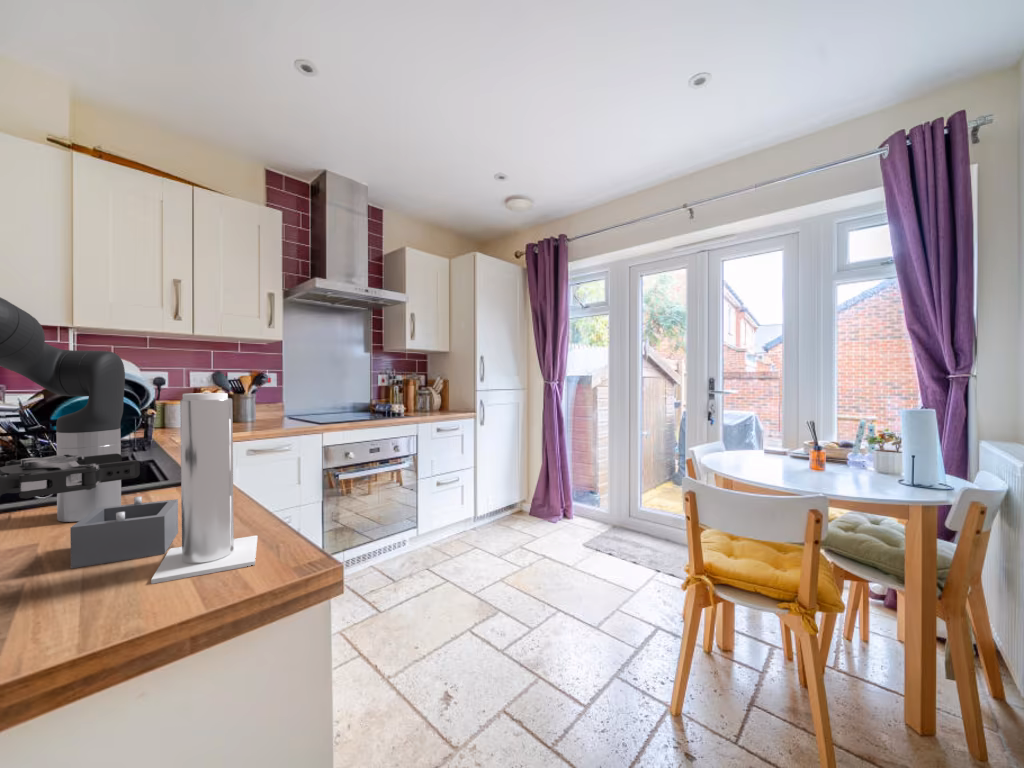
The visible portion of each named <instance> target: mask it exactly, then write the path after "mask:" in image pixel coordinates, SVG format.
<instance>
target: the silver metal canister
mask: <svg viewBox="0 0 1024 768" xmlns="http://www.w3.org/2000/svg"><path fill="white" fill-rule="evenodd" d="M179 402H180V403H179V404H180V411H179V412H180V414H179V415H180V482H181V483H180V484H181V485H180V488H181V489H180V491H181V493H180V496H181V498H180V499H181V502H180V504H181V506H180V507H181V547H182V561H183V562H185V563H190V564H196V563H205V562H210V561H215V560H218V559H221V558H223V557H226V556H228V555H229V554H231V553H232V552H233V550H234V539H235V537H234V531H235V529H234V526H235V525H234V448H233V447H234V442H233V440H234V435H233V432H234V430H233V429H234V428H233V427H234V426H233V421H234V420H233V418H234V417H233V398H231V397H229V395H228V393H227V392H202V393H201V392H200V393H199V392H198V393H182V399H180V401H179Z"/></svg>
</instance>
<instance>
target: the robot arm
mask: <svg viewBox="0 0 1024 768" xmlns="http://www.w3.org/2000/svg"><path fill="white" fill-rule="evenodd" d="M0 367H2V368H4V369H7V370H9V371H11V372H15V373H16V374H19V375H21V376H23V377H24V378H26V379H28V380H30V381H32V382H33V383H35V384H36V385H38V386H40V387H42V388H44V389H45V390H47V391H48V392H51V393H53V394H56V395H59V396H62V397H63V396H64V397H88V399H87V403H86V405H84V407H82V408H81V409H79V410H77V411H75V412H72V413H68V414H65V415H62V416H60V417H57V420H56V424H55V425H56V426H55V430H56V435H55V436H56V455H51V456H45V457H28V458H26V457H25V458H21V459H19V460H16V459H11V460H9V461H5V465H4V466H0V497H1V496H3V495H4V494H17V493H19V495H18V497H19V499H30V498H34V497H43V496H49V495H56V510H57V511H56V516H57V518H56V520H57V521H58V522H66V523H68V522H69V523H70V522H71V523H72V522H79V521H80V520H81V519H83V518H84V517H86V516H87V515H88V514H90V513H91V512H92V511H94V510H95V509H96V508H101V507H110V506H120V505H122V481H124V480H129V479H135V478H138V477H139V476H140V474H141V470H140V469H141V468H140V467H141V466H140V465H141V464H140V462H139V461H138V460H133V459H132V460H124V461H122V460H123V459H122V451H121V450H122V449H121V448H122V447H121V446H122V443H121V441H122V440H121V437H122V436H121V435H122V434H121V433H122V432H121V422H122V418H123V414H124V400H125V387H126V386H125V383H126V371H125V364H124V362H123V360H122V358H121V357H120V356H119V355H118V354H117V353H116V352H113V351H108V350H74V349H73V350H72V349H61V348H58V347H56V346H52V344H51V345H50V344H49V343H46V337H45V331H44V328H43V325H42V324H41V323H40V322H39V320H38V319H36V318H35V317H34V316H32V314H30V313H28V312H27V311H25V310H23V309H21V308H20V307H18V306H16V305H15V304H13V303H12V302H9V301H8V300H6V299H5V298H2V297H0Z"/></svg>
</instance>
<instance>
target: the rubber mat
mask: <svg viewBox="0 0 1024 768" xmlns="http://www.w3.org/2000/svg"><path fill="white" fill-rule="evenodd" d="M258 537H259V536H258V535H250V536H243V537H238V538H234V550H233V552H232V553H231V554H229V555H228V556H226V557H223V558H221V559H218V560H215V561H210V562H205V563H196V564H190V563H185V562H183V561H182V546H179V547H172V548H170V547H169V549H168V550H167V552H166V553H165V556H164V558H163V559H162V561H161V563H160V564H159V565H158V568H157V569H156V571H155V573H154V574H153V575H152V578H151V579H150V583H151V585H152V584H153V585H154V584H159V583H165V582H170V581H176V580H181V579H186V578H192V577H197V576H202V575H208V574H214V573H219V572H225V571H231V570H236V569H240V568H247V566H248V567H252V566H251V565H253V566H255V565H256V559H257V558H256V557H257V548H258V547H257V546H258ZM255 558H256V559H255Z"/></svg>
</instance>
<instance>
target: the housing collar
mask: <svg viewBox="0 0 1024 768" xmlns="http://www.w3.org/2000/svg"><path fill="white" fill-rule="evenodd" d="M142 499H143V496H135V497H134V498H133V501H134V502H133V503H130V504H129V503H128V504H121V505H120V506H110V507H101V508H96V509H95V510H94V511H92V512H91V513H90V514H88V515H87V516H86V517H84V518H83V519H81V520H80V521H76V523H75V524H73V525H72V526H70V569H75V568H76V569H77V568H83V567H84V568H85V567H90V566H96V565H102V564H108V563H109V564H110V563H114V562H121V561H128V560H134V559H135V560H136V559H141V558H147V557H153V556H161V555H166V554H167V552H168V551H169V549H170V546H171V545H172V543H173V542H174V540H175V539H176V537H177V535H178V533H179V499H178V498H177V499H169V500H157V501H149V502H143V500H142Z"/></svg>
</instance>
